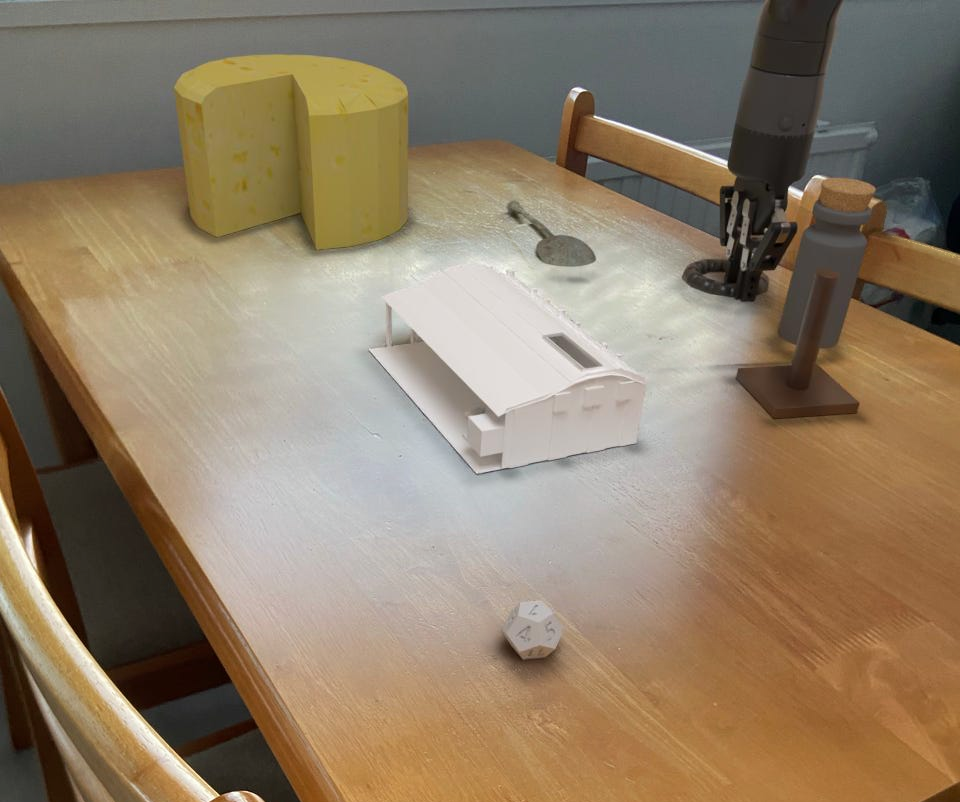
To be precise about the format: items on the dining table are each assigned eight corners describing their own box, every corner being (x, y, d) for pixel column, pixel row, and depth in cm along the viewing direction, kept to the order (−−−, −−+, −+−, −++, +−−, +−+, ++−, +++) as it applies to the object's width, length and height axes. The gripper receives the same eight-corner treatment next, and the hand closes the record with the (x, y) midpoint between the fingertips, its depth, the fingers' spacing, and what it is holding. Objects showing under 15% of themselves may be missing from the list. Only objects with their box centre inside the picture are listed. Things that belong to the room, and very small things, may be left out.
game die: (568, 640, 63) (573, 602, 61) (545, 675, 60) (550, 637, 58) (516, 623, 64) (519, 585, 62) (491, 657, 61) (494, 618, 59)
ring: (744, 272, 114) (748, 255, 113) (780, 304, 107) (785, 285, 106) (668, 275, 112) (671, 257, 111) (700, 307, 106) (704, 288, 104)
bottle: (764, 335, 101) (802, 176, 91) (814, 330, 102) (857, 174, 93) (795, 360, 97) (839, 196, 87) (847, 354, 98) (896, 193, 88)
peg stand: (814, 373, 94) (847, 254, 87) (856, 413, 89) (896, 289, 82) (735, 378, 93) (763, 257, 86) (774, 419, 87) (806, 293, 80)
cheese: (243, 264, 109) (227, 110, 99) (159, 195, 125) (138, 58, 115) (448, 230, 120) (452, 90, 111) (347, 171, 137) (342, 45, 127)
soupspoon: (546, 284, 110) (601, 284, 112) (551, 254, 108) (607, 253, 110) (488, 213, 126) (537, 213, 127) (491, 184, 123) (541, 185, 125)
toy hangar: (365, 346, 94) (363, 272, 90) (505, 326, 99) (510, 255, 95) (478, 477, 77) (483, 393, 73) (640, 444, 82) (654, 364, 78)
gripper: (847, 141, 92) (799, 324, 103) (779, 104, 102) (742, 274, 113) (772, 141, 90) (731, 327, 101) (710, 104, 100) (679, 277, 112)
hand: (737, 299), depth 107 cm, fingers closed on ring, 2 cm apart
